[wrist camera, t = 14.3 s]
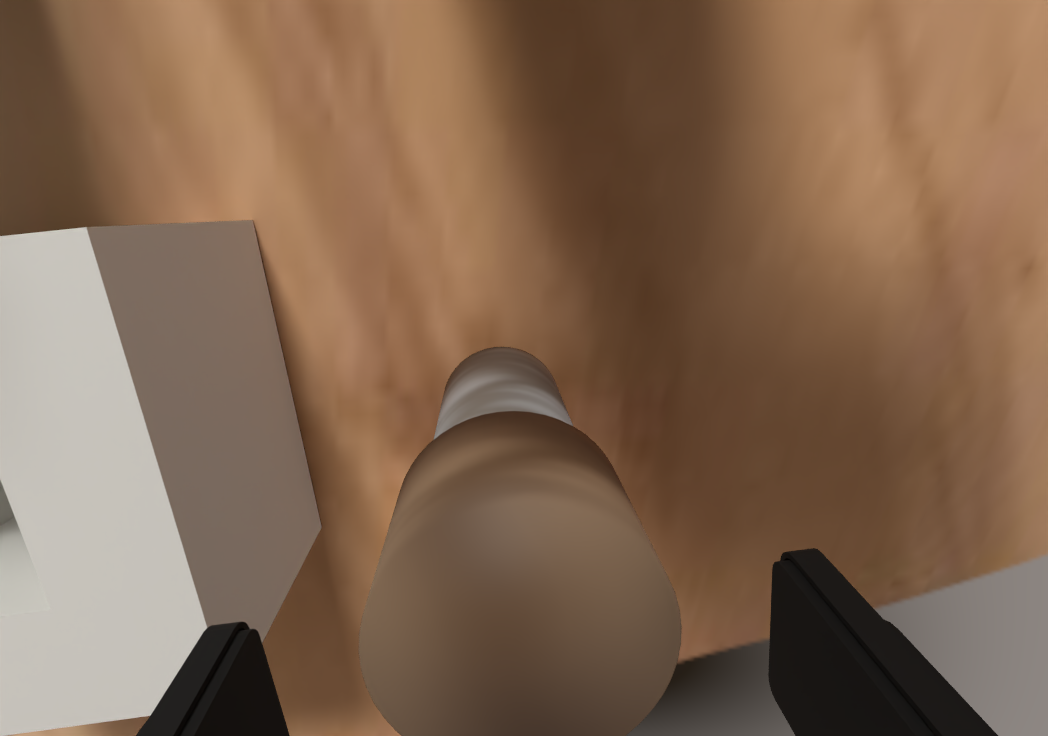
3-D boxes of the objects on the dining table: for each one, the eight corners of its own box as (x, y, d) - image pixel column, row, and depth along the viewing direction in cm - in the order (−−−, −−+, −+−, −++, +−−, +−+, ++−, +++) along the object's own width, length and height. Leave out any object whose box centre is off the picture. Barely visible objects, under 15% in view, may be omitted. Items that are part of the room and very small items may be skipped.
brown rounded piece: (565, 325, 25) (676, 482, 11) (577, 459, 27) (685, 750, 12) (419, 342, 25) (329, 525, 10) (440, 476, 27) (388, 793, 12)
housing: (252, 220, 23) (86, 226, 13) (321, 527, 27) (230, 704, 17) (-108, 258, 23) (-549, 294, 13) (15, 565, 26) (-256, 771, 17)
